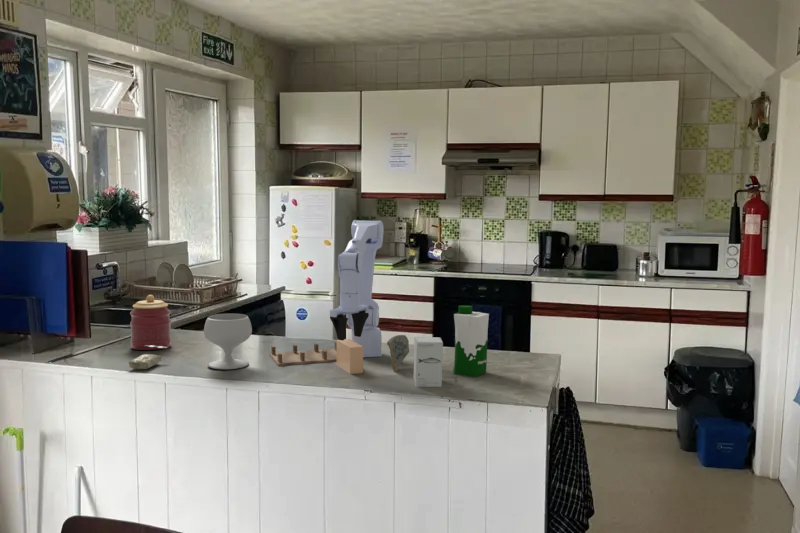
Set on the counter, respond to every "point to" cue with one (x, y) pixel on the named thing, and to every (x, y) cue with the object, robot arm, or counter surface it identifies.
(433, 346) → the supplement box
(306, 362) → the comb rack
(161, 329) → the canister
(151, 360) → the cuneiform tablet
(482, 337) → the milk carton
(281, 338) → the counter surface
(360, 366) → the tan rectangular block
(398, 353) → the ceramic fragment
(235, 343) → the chalice
